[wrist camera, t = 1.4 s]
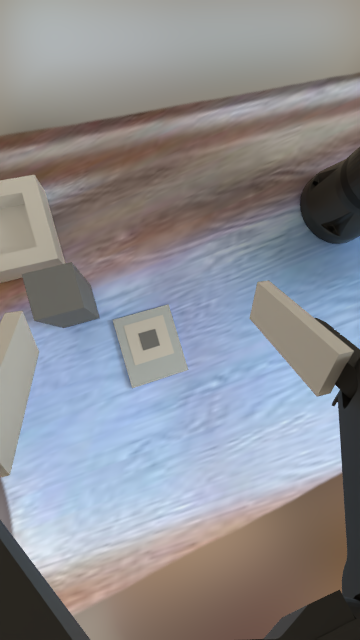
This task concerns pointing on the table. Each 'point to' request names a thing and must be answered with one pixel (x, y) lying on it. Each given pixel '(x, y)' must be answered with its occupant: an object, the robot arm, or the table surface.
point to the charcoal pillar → (60, 296)
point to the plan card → (150, 345)
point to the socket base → (26, 229)
